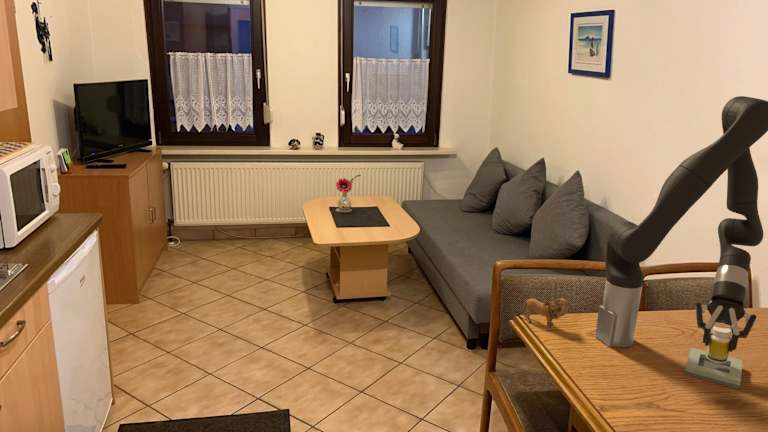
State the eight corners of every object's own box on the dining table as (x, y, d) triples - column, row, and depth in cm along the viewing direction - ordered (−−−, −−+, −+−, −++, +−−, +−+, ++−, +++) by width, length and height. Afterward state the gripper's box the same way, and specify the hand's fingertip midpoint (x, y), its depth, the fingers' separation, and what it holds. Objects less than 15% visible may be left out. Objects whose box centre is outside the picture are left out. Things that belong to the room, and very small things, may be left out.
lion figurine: (567, 326, 178) (571, 297, 175) (562, 333, 173) (566, 303, 171) (518, 313, 185) (521, 285, 182) (512, 320, 181) (515, 291, 178)
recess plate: (739, 389, 148) (740, 381, 147) (684, 374, 153) (685, 366, 153) (740, 367, 158) (742, 360, 157) (689, 354, 163) (690, 347, 163)
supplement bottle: (729, 365, 152) (735, 334, 150) (709, 362, 153) (714, 332, 150) (723, 355, 156) (729, 325, 154) (703, 353, 157) (708, 323, 155)
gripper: (699, 274, 159) (687, 334, 152) (764, 286, 152) (753, 350, 145) (698, 286, 165) (686, 345, 158) (760, 298, 158) (750, 360, 151)
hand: (718, 347), depth 152 cm, fingers closed on supplement bottle, 4 cm apart
